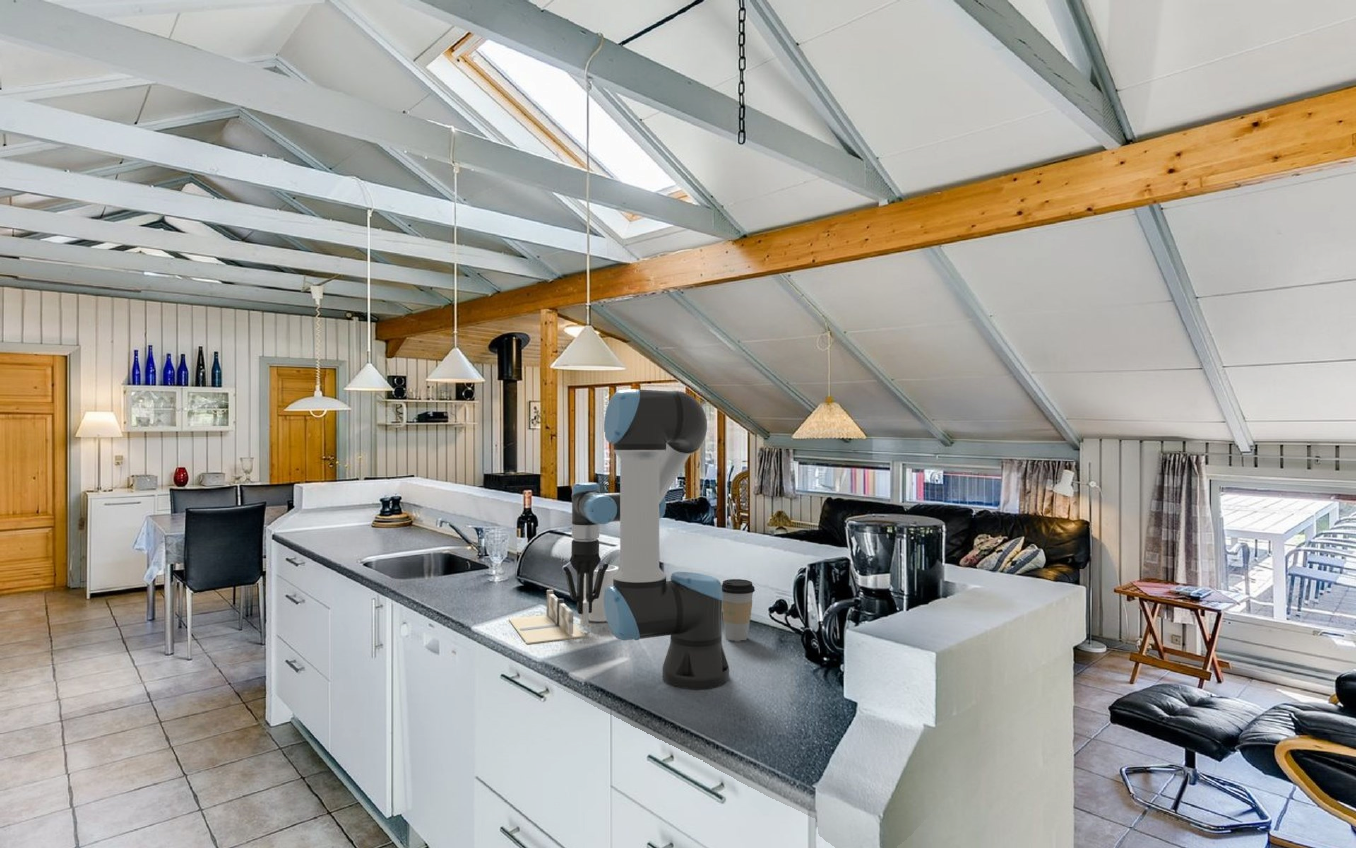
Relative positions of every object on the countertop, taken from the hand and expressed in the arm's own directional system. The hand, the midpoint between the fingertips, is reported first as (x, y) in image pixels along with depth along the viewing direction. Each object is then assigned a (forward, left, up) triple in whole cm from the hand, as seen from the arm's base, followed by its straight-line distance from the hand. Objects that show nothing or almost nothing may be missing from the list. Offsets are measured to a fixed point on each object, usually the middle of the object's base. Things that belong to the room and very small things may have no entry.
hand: (584, 625), depth 191 cm
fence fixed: (+13, +5, -2) cm, 14 cm away
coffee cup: (-21, -36, -2) cm, 42 cm away
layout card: (+8, +9, -2) cm, 12 cm away
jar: (+11, -8, -2) cm, 14 cm away
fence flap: (+2, +5, -1) cm, 5 cm away
